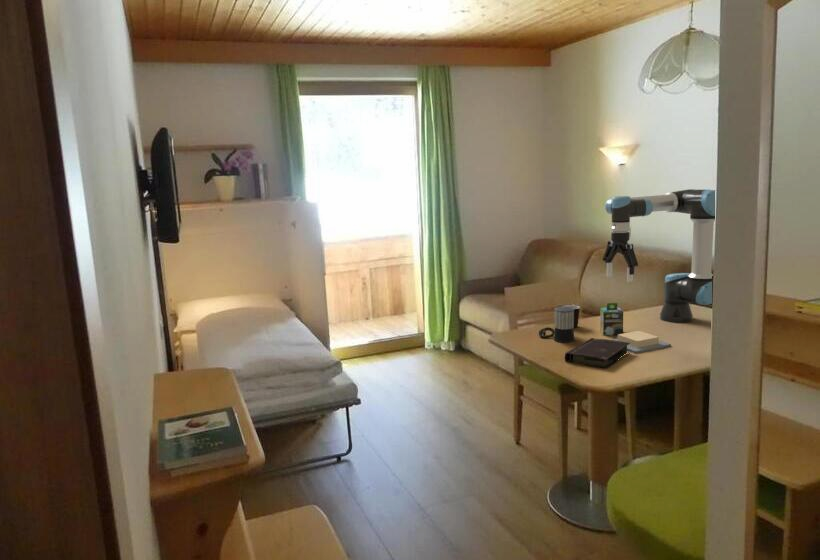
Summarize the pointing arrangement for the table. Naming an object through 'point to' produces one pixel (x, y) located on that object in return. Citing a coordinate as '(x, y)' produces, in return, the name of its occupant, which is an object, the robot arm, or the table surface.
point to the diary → (597, 353)
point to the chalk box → (611, 320)
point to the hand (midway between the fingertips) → (619, 279)
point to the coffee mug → (575, 314)
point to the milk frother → (561, 325)
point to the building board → (642, 349)
